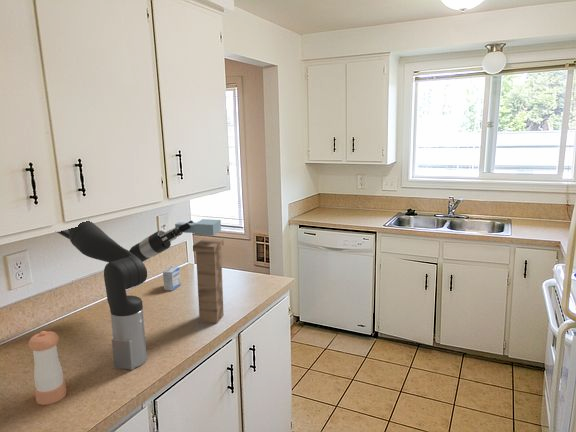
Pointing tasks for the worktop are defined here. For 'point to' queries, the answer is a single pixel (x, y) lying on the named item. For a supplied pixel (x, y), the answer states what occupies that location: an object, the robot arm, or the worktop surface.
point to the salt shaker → (47, 368)
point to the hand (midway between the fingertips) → (190, 223)
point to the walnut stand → (209, 279)
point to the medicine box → (171, 278)
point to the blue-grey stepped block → (203, 227)
